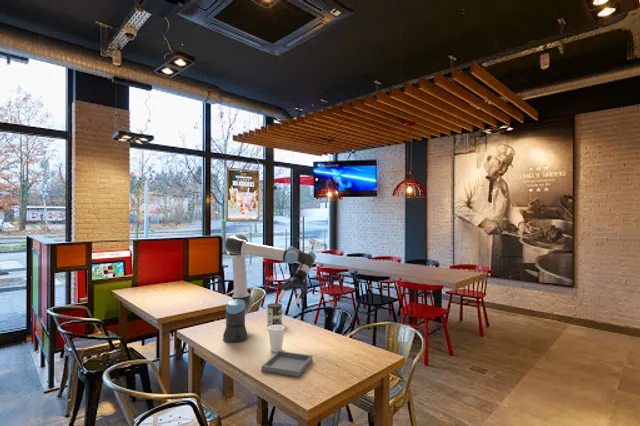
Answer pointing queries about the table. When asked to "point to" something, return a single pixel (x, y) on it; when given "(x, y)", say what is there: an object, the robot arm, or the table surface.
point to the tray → (287, 364)
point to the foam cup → (276, 337)
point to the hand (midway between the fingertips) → (287, 301)
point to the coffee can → (274, 314)
